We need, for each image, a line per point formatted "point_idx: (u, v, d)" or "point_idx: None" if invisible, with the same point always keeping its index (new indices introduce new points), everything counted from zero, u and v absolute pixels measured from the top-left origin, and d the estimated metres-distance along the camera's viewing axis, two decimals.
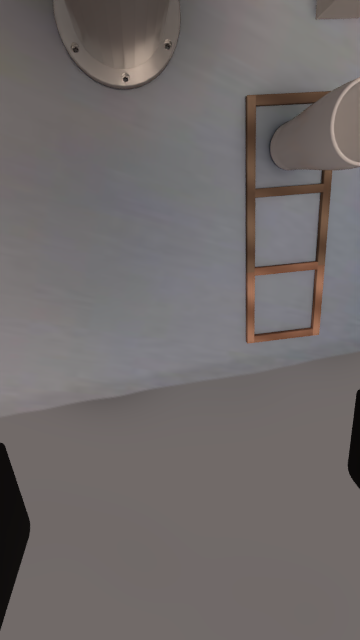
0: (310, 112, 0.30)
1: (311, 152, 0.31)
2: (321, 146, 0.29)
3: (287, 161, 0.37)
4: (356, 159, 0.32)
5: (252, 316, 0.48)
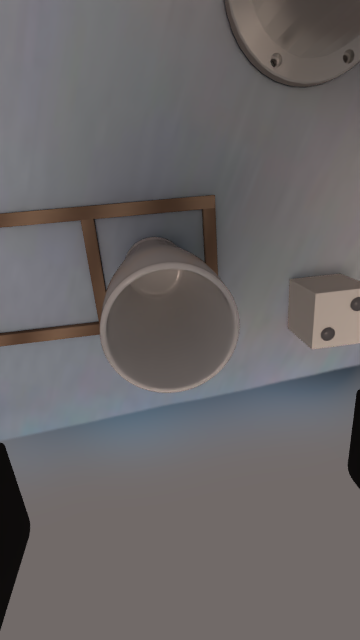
0: None
1: (128, 260, 0.18)
2: (133, 263, 0.16)
3: None
4: (124, 339, 0.20)
5: None
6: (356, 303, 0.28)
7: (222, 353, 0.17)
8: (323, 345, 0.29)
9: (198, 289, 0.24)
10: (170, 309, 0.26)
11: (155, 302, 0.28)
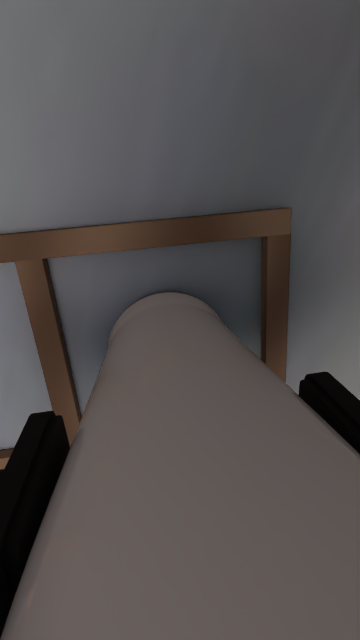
0: (337, 454, 0.05)
1: (89, 538, 0.04)
2: None
3: (114, 348, 0.10)
4: None
5: None
6: None
7: None
8: None
9: None
10: None
11: None
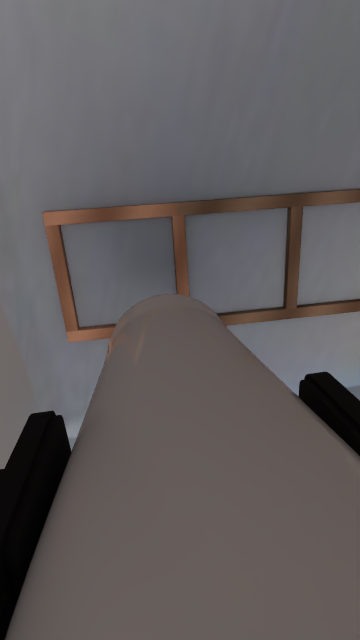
0: (340, 459, 0.05)
1: (92, 545, 0.04)
2: None
3: (116, 350, 0.10)
4: None
5: (97, 218, 0.26)
6: None
7: None
8: None
9: None
10: None
11: None
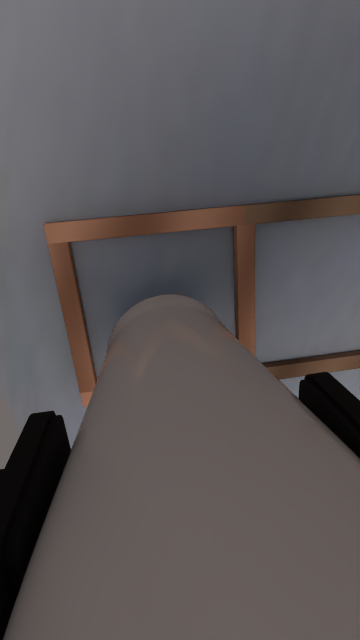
0: (338, 461, 0.05)
1: (89, 547, 0.04)
2: None
3: (115, 350, 0.10)
4: None
5: (127, 230, 0.18)
6: None
7: None
8: None
9: None
10: None
11: None
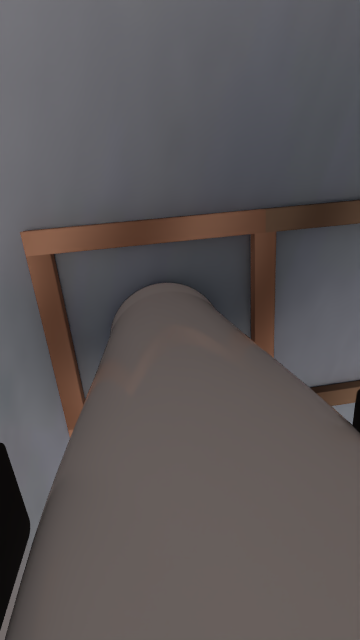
0: (298, 389, 0.06)
1: (109, 440, 0.05)
2: (125, 557, 0.03)
3: (119, 328, 0.12)
4: None
5: (122, 240, 0.14)
6: None
7: None
8: None
9: None
10: None
11: None
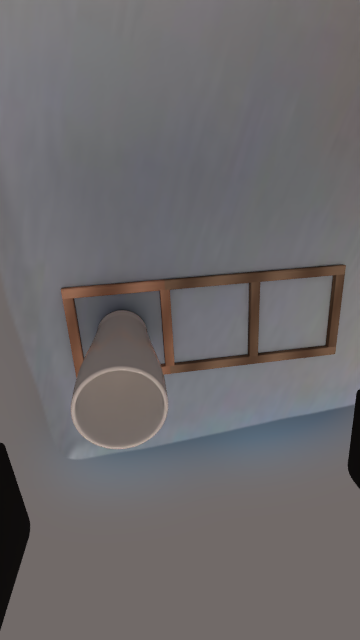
0: (138, 344, 0.26)
1: (94, 351, 0.25)
2: (96, 360, 0.23)
3: (99, 329, 0.32)
4: (91, 404, 0.27)
5: (103, 292, 0.35)
6: None
7: (157, 422, 0.24)
8: None
9: None
10: (131, 370, 0.33)
11: None
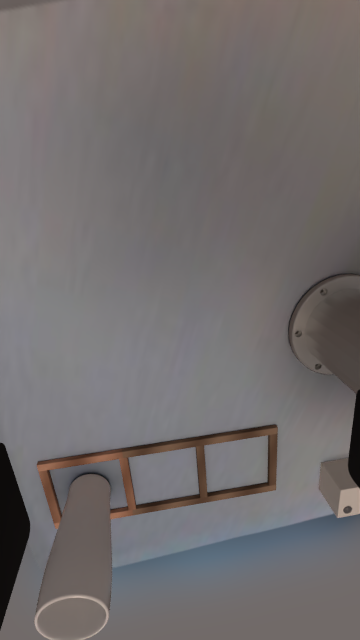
0: (90, 548, 0.34)
1: (55, 560, 0.33)
2: (53, 580, 0.31)
3: (67, 506, 0.39)
4: None
5: (71, 464, 0.42)
6: None
7: (103, 619, 0.32)
8: (344, 515, 0.46)
9: None
10: None
11: None
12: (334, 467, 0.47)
